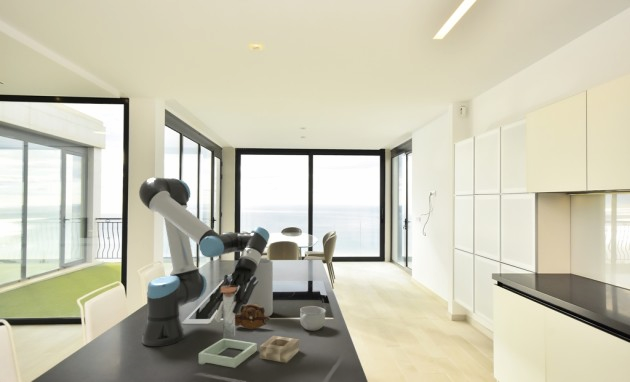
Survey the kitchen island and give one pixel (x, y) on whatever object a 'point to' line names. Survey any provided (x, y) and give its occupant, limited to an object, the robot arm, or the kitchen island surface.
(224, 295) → the pin
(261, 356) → the block
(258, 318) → the wooden carving
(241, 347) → the tray
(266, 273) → the cylinder vase
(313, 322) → the teacup
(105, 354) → the kitchen island surface
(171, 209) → the robot arm
